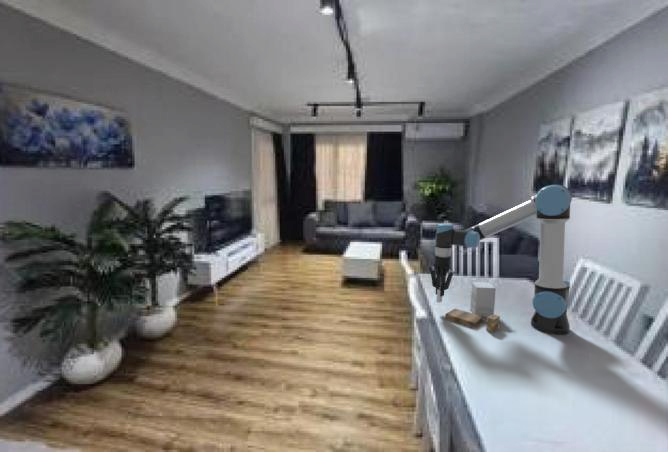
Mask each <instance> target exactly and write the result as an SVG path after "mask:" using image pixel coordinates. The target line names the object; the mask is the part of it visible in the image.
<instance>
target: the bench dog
mask: <svg viewBox="0 0 668 452" xmlns="http://www.w3.org/2000/svg"><path fill="white" fill-rule="evenodd" d="M500 318H501V316H500V315H498V314H495V313H494V314H492V315H491V316H489V317H486V326H485V330H486V332H490V333H492V334H493V333H495V332H496V331H497V330H499V328H500Z"/></svg>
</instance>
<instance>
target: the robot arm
mask: <svg viewBox="0 0 668 452" xmlns="http://www.w3.org/2000/svg"><path fill="white" fill-rule="evenodd" d="M572 198H573V195H572V192H571V191H570V189H569V188H568V187H566V186H564V185H561V184H557V183H555V184H551V185H550V184H548V185H546V186H544V187H542V188H541V189H540V190H539V191H538V192H537V194H534V195H532V196H531V198H530V199H529V200H527V201H525V202H522V203H521V204H519V205H516V206H515V207H512V208H510V209H507V210H505V211H503V212H501V213H499V214H497V215H495V216H493V217H491V218H489V219H486V220H484V221H482V222H480V223H478V224H476V225H473V226H470V227H468V228H466V229H464V230H463V229H456V228H454V225H453V224H451V223H446V222H444V223H438V224H437V228H436V232H435V246H434V247H435V248H434V254H435V255H434V264H433V265H432V266H430V267H428V269H429V271H430V276H431V284H432V287H434V288H435V295H436V301H435V302H436V303H438V304H439V303H442V302H443V297H444V296H445V291H446V290H449V287H450V285H451V283H452V282H451V281H452V279H453V277H454V275H455V271H452V269H451V259H452V257H451V255H452V249H453V248H452V247H453V246H457V247H464V248H469V249H471V248H473V249H476V248H478V247H479V244H480V241H481V240H484V239H486V238H489V237H490V236H492V235H496V234H497V233H501V232H502V231H505V230H507V229H510V228H512V227H514V226H516V225H518V224H522V223H523V222H525V221H528V220H530V219H533V218H535V217H536V220H538V221H539V223H540V224H539V225H540V229H539V230H540V231H539V232H540V234H539V265H538V267H539V268H538V279H537V280H535V281H534V293H533V294H534V295H533V298H532V307H533V308H534V313H533V315H532V317H531V319H530V326H531V327H533V328H534V329H536V330H538V331H540V332H543V333H546V334H551V335H566V334H569V333H570V328H571V325H570V322H569V317H568V315H567V313H568V305H569V304H568V303H569V298H570V297H569V295H570V289H571V283H570V281H569V280H567V279H564V267H565V266H564V264H565V263H564V261H565V258H564V257H565V237H566V236H565V234H566V233H565V232H566V222H568V221H569V220H570V219H571V217H570V216H571V214H570V213H571V203H572V200H573V199H572Z"/></svg>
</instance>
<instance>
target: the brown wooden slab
mask: <svg viewBox="0 0 668 452" xmlns="http://www.w3.org/2000/svg"><path fill="white" fill-rule="evenodd" d="M444 315H445V317H444V319H445V320H447V321H449V322H453V323H456V324H460V325H462V324H463V326H467V327H469V328H472V329H475V328H476V327H478V326H479V325H480V324H482V323H483V322H484V317H483V316H480V315H476V314H473V313H472V312H469V311H465V310H461V309H458V308H453V309H452V310H450V311H449V312H447V313H445V314H444Z"/></svg>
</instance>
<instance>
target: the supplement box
mask: <svg viewBox="0 0 668 452" xmlns="http://www.w3.org/2000/svg"><path fill="white" fill-rule="evenodd" d="M470 293H471V295H470V306H469V307H470V308H469V311H470V313H473V314H476V315H480V316H483V318H487V317H489V316H491V315H492V314H494V315H495V302H496V301H495V300H496V287H495V286H494V285H493V284H492V283H491V282H477V281H476V282H474V281H472V282H471V291H470Z"/></svg>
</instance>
